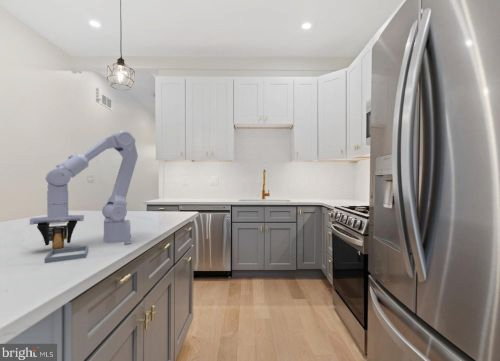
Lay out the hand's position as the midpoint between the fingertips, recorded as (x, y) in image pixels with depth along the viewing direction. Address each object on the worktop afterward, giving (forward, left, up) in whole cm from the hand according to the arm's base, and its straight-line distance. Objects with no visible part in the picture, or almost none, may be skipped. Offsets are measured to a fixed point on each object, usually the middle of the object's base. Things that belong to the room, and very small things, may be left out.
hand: (58, 243), depth 86 cm
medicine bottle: (+3, -20, -3) cm, 21 cm away
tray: (-4, +10, -3) cm, 11 cm away
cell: (0, 0, -2) cm, 2 cm away
